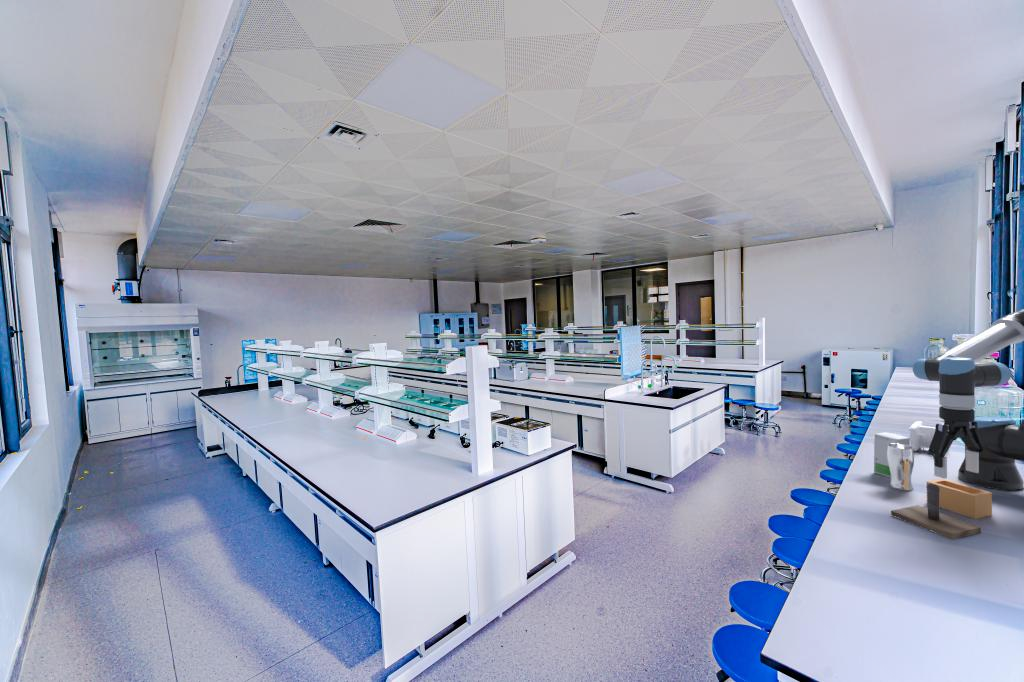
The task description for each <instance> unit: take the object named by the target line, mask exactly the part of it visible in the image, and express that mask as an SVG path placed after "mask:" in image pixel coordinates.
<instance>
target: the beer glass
mask: <svg viewBox="0 0 1024 682" xmlns="http://www.w3.org/2000/svg"><path fill="white" fill-rule="evenodd" d="M914 455H915V454H914V450H913V447H912V446H909V445H905V444H896V443H891V444H888V449H887V460H888V465H889V469H890V473H891V478H890V482H889V487H890V488H892V489H895V490H898V491H903V492H905V491H906V492H911V491H913V490H914V487H913V484H912V476H913V471H914V465H915V456H914Z"/></svg>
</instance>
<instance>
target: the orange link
mask: <svg viewBox="0 0 1024 682" xmlns="http://www.w3.org/2000/svg"><path fill="white" fill-rule="evenodd" d="M931 483H932V484H936V485H937V486H939V488H940V491H939V506H940V507H939V508H941V507H943V508H942V509H944V508H945V510H947V509H948V511H950V510H951V511H950V512H954V513H956V514H960V515H963V516H966V517H968V518H970V519H971V518H972V519H974V520H978V519H981V518H987V517H990V515H991V516H993V493H992V492H991V491H988V490H984V489H982V488H981V489H980V488H977V487H974V486H970V485H966V484H963V483H959V482H956V481H952V480H949V479H947V478H946V479H944V478H938V479H933V480H927V481H926V486H927V485H928V484H931ZM927 502H928V495H927V494H926V503H927ZM986 516H987V517H986Z"/></svg>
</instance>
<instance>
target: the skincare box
mask: <svg viewBox="0 0 1024 682" xmlns="http://www.w3.org/2000/svg"><path fill="white" fill-rule="evenodd" d="M873 442H874V445H873V446H874V452H873V453H874V454H873V455H874V456H873V473H875V474H878V475H882V476H884V477H887V478H890V479H891V473H890V469H889V465H888V460H887V449H888V444H891V443H896V444H905V445H909V446H910V437H908V436H904V435H900V434H897V433H896V434H895V433H891V432H888V431H884V432H879V433H878V432H877V433H874V441H873Z"/></svg>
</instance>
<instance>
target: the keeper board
mask: <svg viewBox="0 0 1024 682" xmlns="http://www.w3.org/2000/svg"><path fill="white" fill-rule="evenodd" d="M925 488H926V496H927V495H928V503H927V507H924V506H921V505H918V504H916V505H911V506H906V507H901V508H898V509H894V510H893V509H892V510H890V515H893V516H892V517H894V516H896V517H899V518H901V519H903V520H902V521H904V520H906V521H905V522H907V521H908V522H907V523H909V522H911V523H910V524H912V523H913V525H914V524H915V525H914V526H917V525H918V526H917V527H919V526H921V527H920V528H922V527H923V528H922V529H924V528H926V529H925V530H927V529H928V530H927V531H930V530H932V531H934V532H933V533H935V532H936V533H935V534H937V533H938V534H937V535H940V534H941V535H940V536H942V535H943V537H945V536H946V537H945V538H947V537H948V539H950V540H956V539H960V538H964V537H968V536H973V535H977V534H980V533H982V527H981V526H978V525H975V524H972V523H969V522H967V521H964V520H961V519H958V518H956V517H953V516H949V515H947V514H944V513H941V512H940V507H939V491H940V488H939V486H937V485H936V484H932V483H931V484H928V485H927V484H926V487H925ZM896 517H895V518H896ZM899 518H898V519H899ZM901 519H900V520H901ZM932 531H931V532H932ZM955 538H956V539H955Z"/></svg>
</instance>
